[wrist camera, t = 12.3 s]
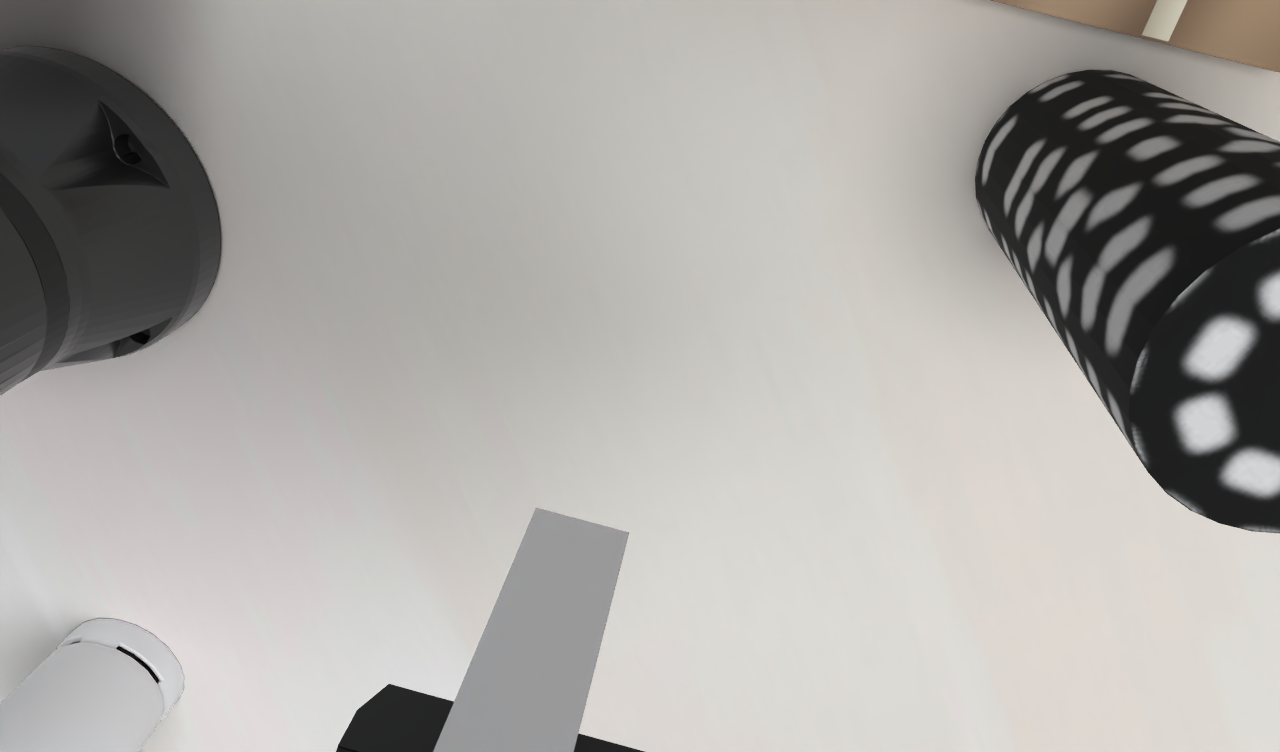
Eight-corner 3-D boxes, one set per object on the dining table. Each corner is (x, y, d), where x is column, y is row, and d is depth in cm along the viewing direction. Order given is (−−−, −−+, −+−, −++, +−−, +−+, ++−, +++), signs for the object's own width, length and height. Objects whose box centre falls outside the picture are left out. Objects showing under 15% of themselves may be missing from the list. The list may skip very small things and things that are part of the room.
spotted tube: (946, 127, 39) (1082, 303, 21) (1154, 31, 36) (1510, 139, 18) (1012, 294, 42) (1180, 574, 24) (1209, 216, 39) (1564, 466, 21)
